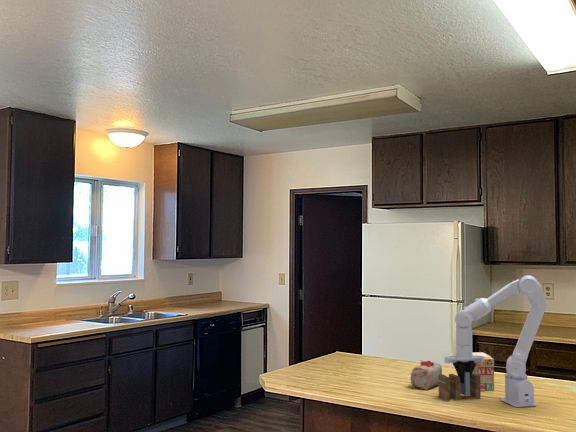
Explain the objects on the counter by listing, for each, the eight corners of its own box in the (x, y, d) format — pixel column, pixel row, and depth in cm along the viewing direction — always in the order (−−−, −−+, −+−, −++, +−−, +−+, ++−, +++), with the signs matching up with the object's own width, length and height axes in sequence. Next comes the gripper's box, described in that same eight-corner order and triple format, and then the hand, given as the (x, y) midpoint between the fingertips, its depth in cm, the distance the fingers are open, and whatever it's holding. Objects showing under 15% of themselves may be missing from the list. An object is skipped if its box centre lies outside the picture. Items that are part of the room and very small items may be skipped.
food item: (428, 391, 213) (428, 365, 213) (409, 388, 218) (408, 362, 218) (444, 385, 223) (444, 359, 223) (425, 381, 228) (425, 356, 229)
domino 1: (442, 396, 205) (442, 374, 206) (449, 400, 200) (449, 377, 201) (438, 397, 205) (438, 374, 205) (445, 400, 200) (445, 377, 200)
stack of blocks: (461, 378, 235) (461, 347, 236) (476, 378, 235) (476, 347, 235) (477, 391, 214) (477, 358, 214) (494, 391, 213) (494, 358, 214)
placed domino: (462, 392, 207) (462, 369, 208) (470, 395, 202) (469, 372, 203) (458, 392, 207) (458, 370, 207) (465, 395, 202) (465, 372, 203)
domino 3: (472, 395, 208) (472, 372, 208) (480, 398, 203) (480, 375, 204) (468, 395, 208) (468, 372, 208) (476, 398, 203) (476, 376, 203)
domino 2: (452, 396, 206) (452, 373, 206) (460, 400, 201) (460, 376, 202) (448, 396, 206) (448, 374, 206) (456, 400, 201) (455, 377, 201)
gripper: (476, 341, 211) (476, 379, 210) (440, 343, 208) (440, 381, 207) (486, 345, 204) (487, 383, 203) (450, 346, 201) (450, 385, 200)
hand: (464, 382), depth 205 cm, fingers closed on placed domino, 2 cm apart
